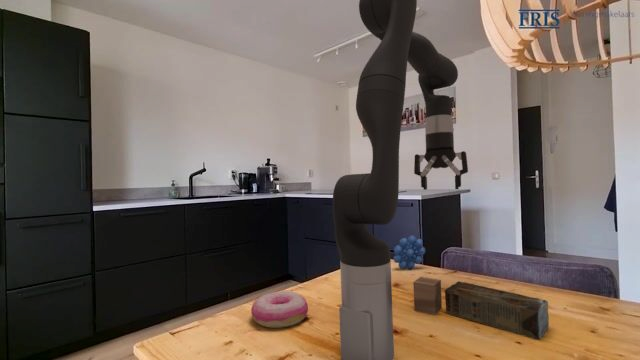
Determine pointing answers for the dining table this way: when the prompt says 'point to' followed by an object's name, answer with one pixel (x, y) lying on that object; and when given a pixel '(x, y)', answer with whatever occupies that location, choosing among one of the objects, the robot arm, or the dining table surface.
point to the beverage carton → (498, 309)
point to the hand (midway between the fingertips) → (440, 189)
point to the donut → (279, 309)
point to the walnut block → (427, 295)
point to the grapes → (409, 252)
